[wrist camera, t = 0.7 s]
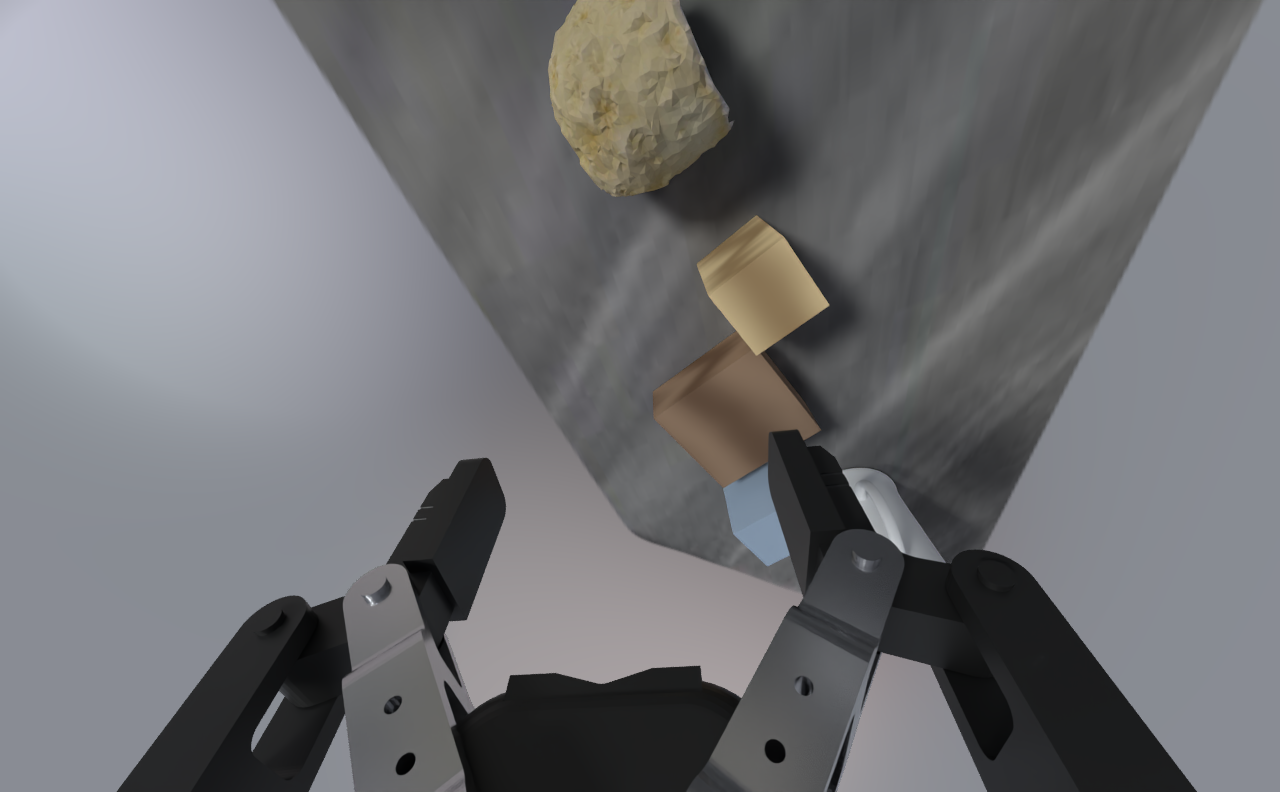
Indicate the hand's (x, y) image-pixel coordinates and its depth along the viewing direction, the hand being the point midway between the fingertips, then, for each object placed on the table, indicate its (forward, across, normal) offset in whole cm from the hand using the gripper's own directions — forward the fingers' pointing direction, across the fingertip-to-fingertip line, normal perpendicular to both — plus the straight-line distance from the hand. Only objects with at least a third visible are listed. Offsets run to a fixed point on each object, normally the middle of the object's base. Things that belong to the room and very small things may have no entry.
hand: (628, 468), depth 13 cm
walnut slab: (+22, -6, +12) cm, 26 cm away
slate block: (+22, -8, +21) cm, 32 cm away
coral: (+22, -1, -10) cm, 25 cm away
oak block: (+22, -7, +1) cm, 23 cm away
